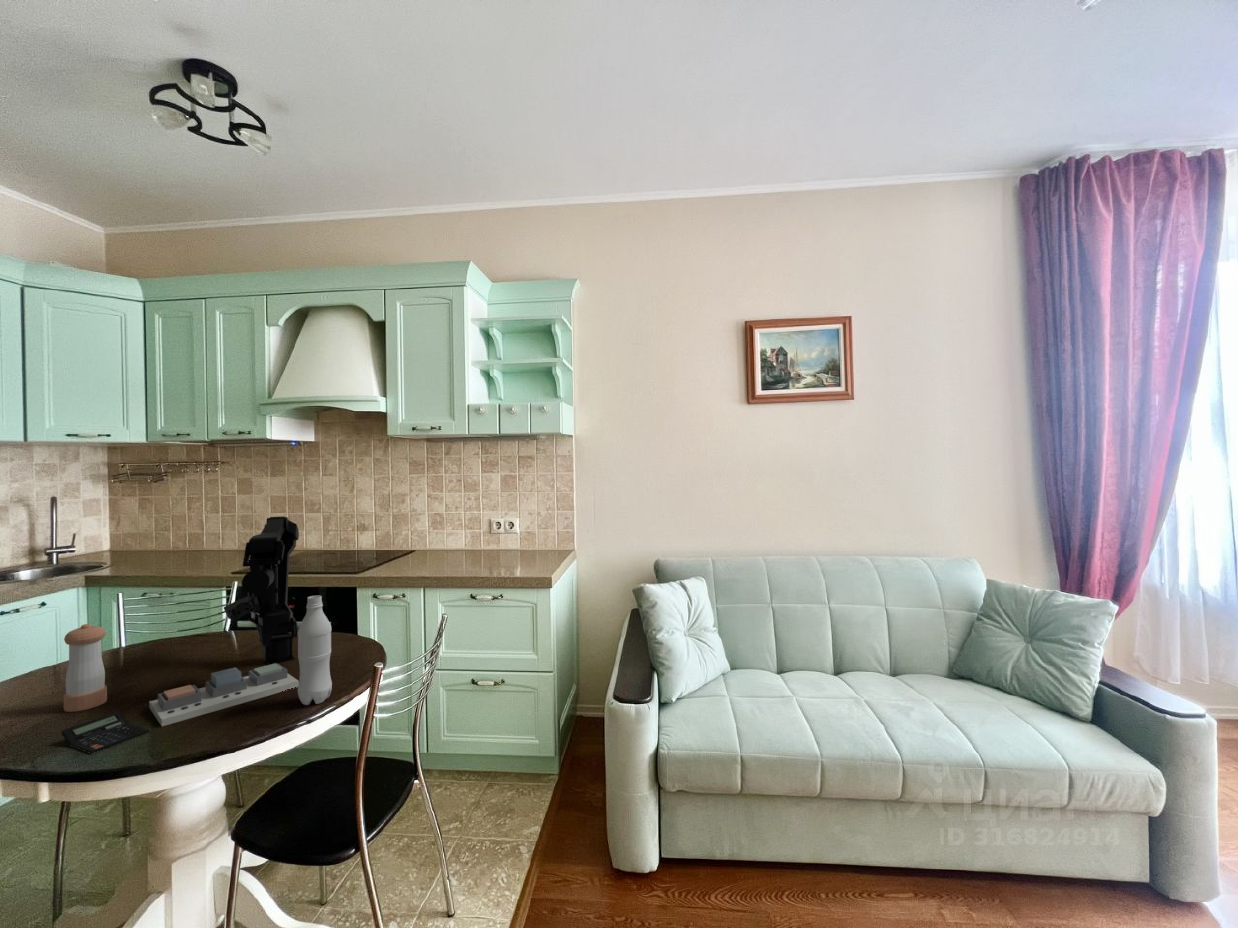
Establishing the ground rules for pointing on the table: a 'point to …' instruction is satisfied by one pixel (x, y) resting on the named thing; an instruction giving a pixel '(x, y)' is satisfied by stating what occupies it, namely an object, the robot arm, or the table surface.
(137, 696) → the table surface
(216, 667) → the table surface
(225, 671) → the two dot button
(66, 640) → the pepper shaker
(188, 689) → the three dot button
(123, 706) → the table surface
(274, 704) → the table surface
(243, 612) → the robot arm
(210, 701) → the button board
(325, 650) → the water bottle
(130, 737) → the calculator
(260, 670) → the one dot button
